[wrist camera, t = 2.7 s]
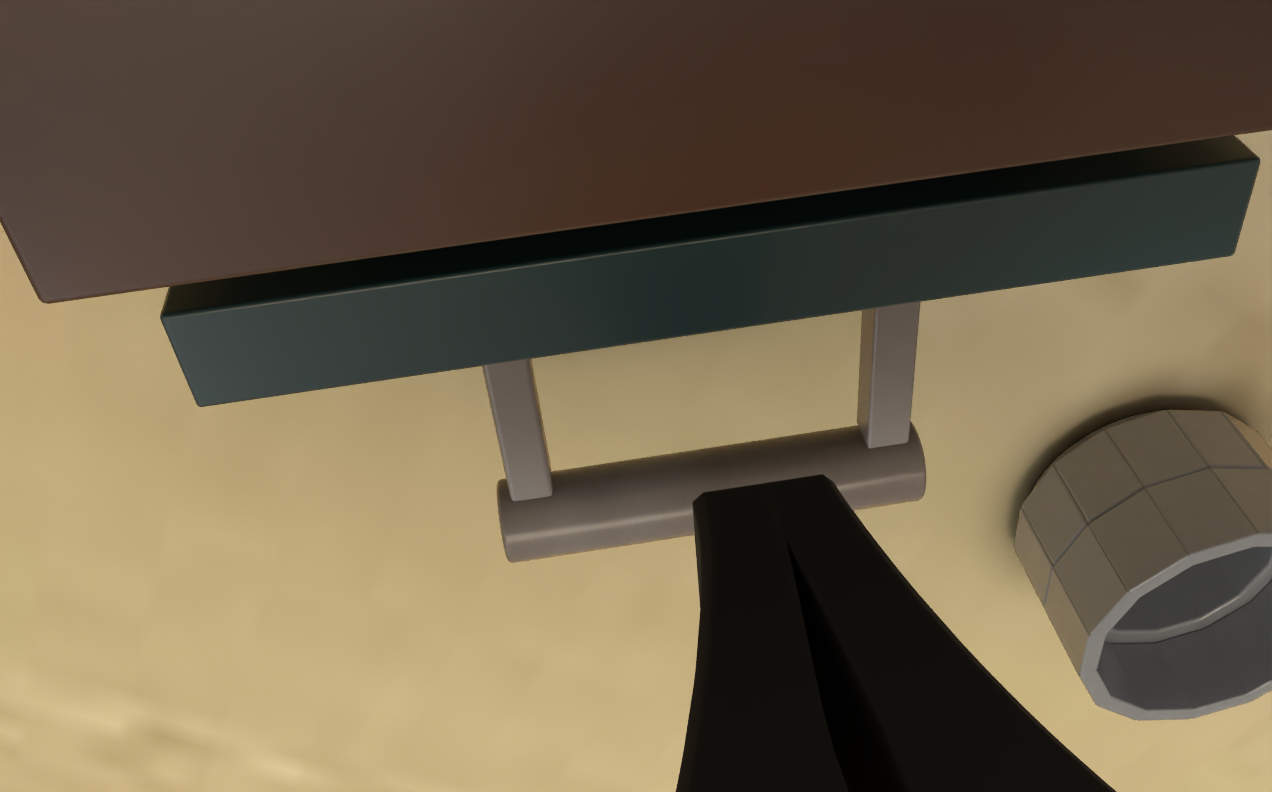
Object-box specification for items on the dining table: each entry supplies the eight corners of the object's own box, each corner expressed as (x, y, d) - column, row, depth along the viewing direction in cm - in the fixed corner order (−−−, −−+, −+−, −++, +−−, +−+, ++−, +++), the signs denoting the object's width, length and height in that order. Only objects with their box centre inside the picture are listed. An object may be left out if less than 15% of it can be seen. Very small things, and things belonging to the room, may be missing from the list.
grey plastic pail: (1286, 375, 23) (1407, 511, 20) (1222, 560, 27) (1317, 699, 24) (1024, 414, 23) (1109, 557, 20) (994, 596, 27) (1062, 741, 24)
